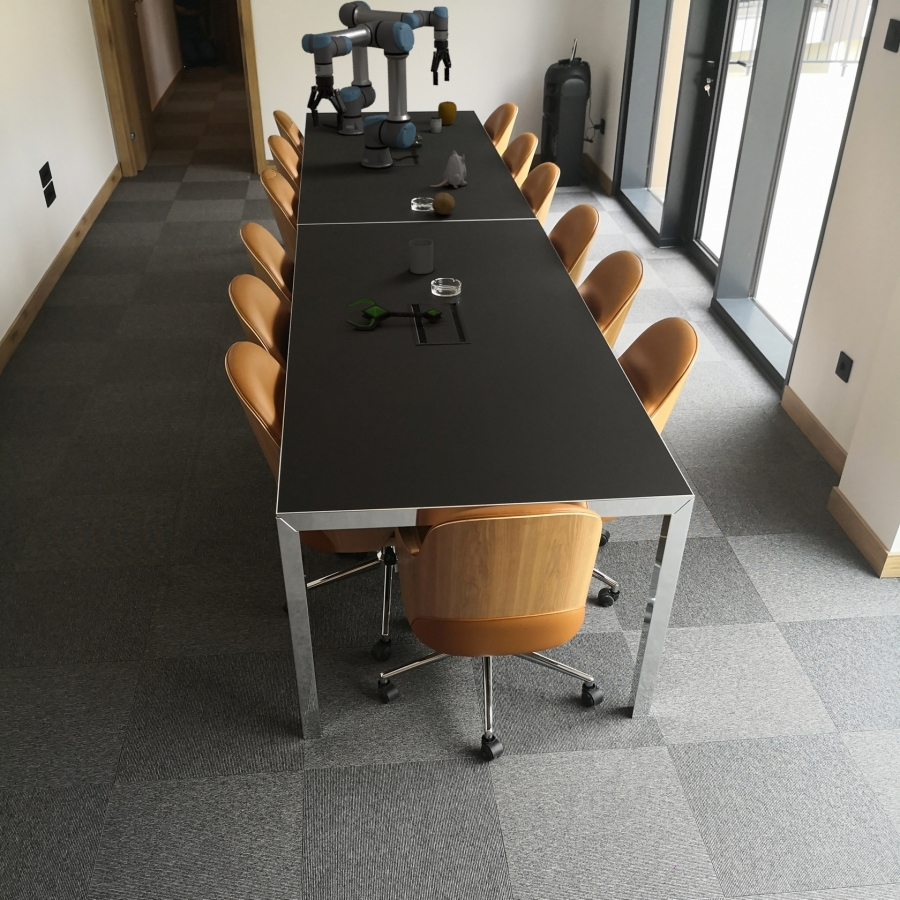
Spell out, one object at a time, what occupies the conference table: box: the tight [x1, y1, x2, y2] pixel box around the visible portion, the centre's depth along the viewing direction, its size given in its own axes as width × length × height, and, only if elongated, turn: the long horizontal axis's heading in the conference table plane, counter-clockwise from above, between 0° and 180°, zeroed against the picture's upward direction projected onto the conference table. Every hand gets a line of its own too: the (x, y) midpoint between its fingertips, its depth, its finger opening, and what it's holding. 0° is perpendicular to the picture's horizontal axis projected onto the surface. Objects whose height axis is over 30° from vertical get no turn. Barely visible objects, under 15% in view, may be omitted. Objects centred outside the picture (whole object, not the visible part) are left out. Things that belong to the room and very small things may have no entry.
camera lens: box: [429, 116, 443, 134], centre depth 486 cm, size 6×6×8 cm
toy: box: [428, 149, 468, 189], centre depth 390 cm, size 9×24×15 cm, turn 137°
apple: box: [437, 100, 458, 126], centre depth 500 cm, size 11×11×13 cm
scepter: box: [345, 298, 443, 331], centre depth 269 cm, size 6×13×30 cm
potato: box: [431, 192, 456, 216], centre depth 360 cm, size 10×14×8 cm
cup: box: [408, 237, 434, 275], centre depth 305 cm, size 8×8×10 cm
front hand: (328, 128), depth 373 cm, fingers open, 13 cm apart
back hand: (441, 83), depth 466 cm, fingers open, 13 cm apart
